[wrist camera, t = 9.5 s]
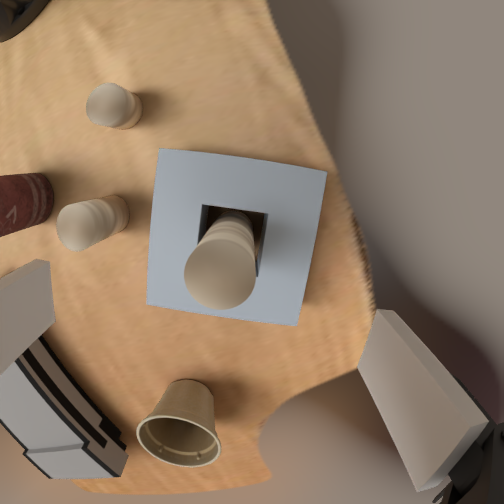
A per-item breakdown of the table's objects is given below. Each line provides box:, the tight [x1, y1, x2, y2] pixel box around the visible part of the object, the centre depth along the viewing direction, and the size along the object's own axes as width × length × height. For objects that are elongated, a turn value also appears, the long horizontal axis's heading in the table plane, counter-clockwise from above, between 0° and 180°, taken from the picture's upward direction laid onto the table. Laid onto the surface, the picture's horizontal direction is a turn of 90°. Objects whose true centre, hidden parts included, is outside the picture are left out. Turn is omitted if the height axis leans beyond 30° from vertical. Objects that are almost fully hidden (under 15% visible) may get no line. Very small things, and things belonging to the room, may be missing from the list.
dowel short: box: [86, 83, 143, 130], centre depth 25 cm, size 4×4×5 cm
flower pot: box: [136, 379, 221, 467], centre depth 31 cm, size 9×9×9 cm
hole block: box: [147, 148, 327, 326], centre depth 28 cm, size 14×14×5 cm
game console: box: [0, 335, 129, 479], centre depth 32 cm, size 21×32×8 cm, turn 28°
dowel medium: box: [56, 196, 130, 251], centre depth 26 cm, size 4×4×8 cm
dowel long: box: [184, 211, 256, 310], centre depth 24 cm, size 4×4×14 cm
